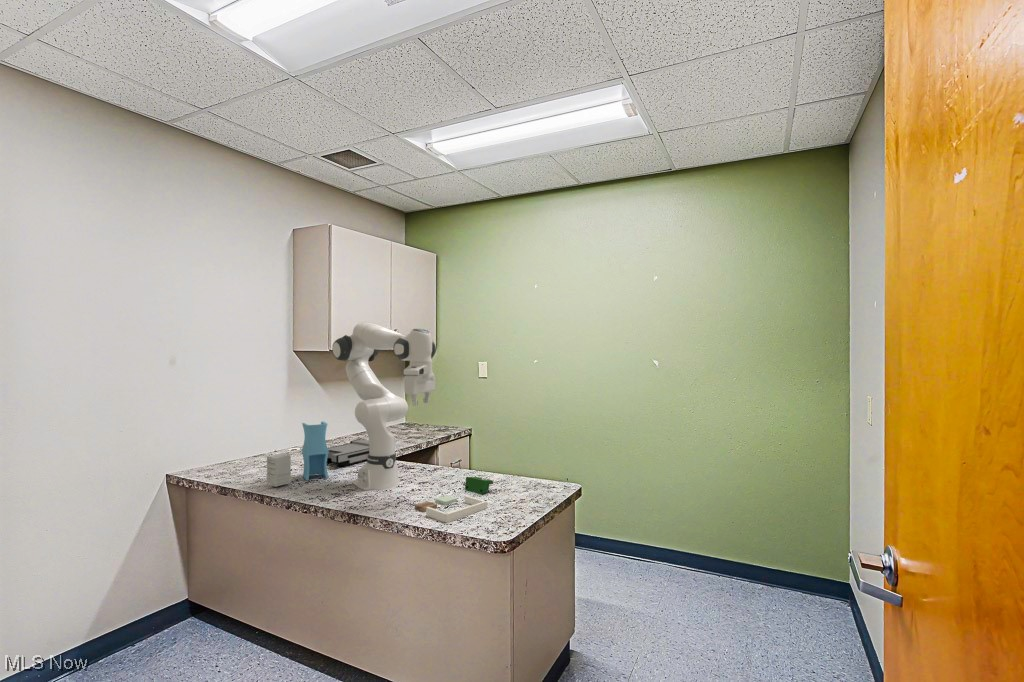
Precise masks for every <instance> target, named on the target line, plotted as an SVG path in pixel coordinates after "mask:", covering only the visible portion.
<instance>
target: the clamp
mask: <svg viewBox="0 0 1024 682" xmlns="http://www.w3.org/2000/svg"><path fill="white" fill-rule="evenodd" d="M490 485H494V480H492V479H484V478H482V477H477V476H466V477H465V484H464V490H465V491H466V492H471V493H473V494H474V493H475V494H478V495H486V494H487V492H488V491H489V490H490Z"/></svg>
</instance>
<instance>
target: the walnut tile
mask: <svg viewBox="0 0 1024 682" xmlns="http://www.w3.org/2000/svg"><path fill="white" fill-rule="evenodd" d="M426 507H430V508H433V509H436V510H437V509H438V503H436V502H435V503H434V502H431V501H428V500H426V501H423V502H419V503H416V504H414V510H418V511H420V512H423V513H426Z"/></svg>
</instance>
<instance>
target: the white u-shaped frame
mask: <svg viewBox="0 0 1024 682" xmlns="http://www.w3.org/2000/svg"><path fill="white" fill-rule="evenodd" d="M464 503H465V504H469V506H465V507H462V508H459V509H456V510H453V511H449V512H446V511H441V510H439V509H437V508H436V509H433V508H430V507H426V512H425V516H427V517H428V518H432V519H434V520H437V521H440V522H443V523H446V524H448V523H451V522H453V521H454V522H455V520H459V519H461V518H465V517H467V516H469V515H470V516H471V515H472V514H475V513H477V512H480V511H484V510H485V509H488V501H487V500H484V499H479V498H477V497H474V496H470V495H464Z"/></svg>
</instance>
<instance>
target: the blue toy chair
mask: <svg viewBox="0 0 1024 682" xmlns="http://www.w3.org/2000/svg"><path fill="white" fill-rule="evenodd" d="M301 425H302V427H303V433H304V434H303V435H304V441H303V446H302V449H301V453H302V457H303V473H302V477H303V478H304V479H305V481H309V478H310V476H314V475H315V476H316V475H323V476H324V478H325V479H326V478H329V474H328V469H327V468H328V467H327V465H328V464H327V458H328V454H329V451H328V448H329V447H328V444H327V441H326V433H327V427H328V423H327V422H325V421H320V424H319V423H317V424H307V423H305V422H302V423H301Z"/></svg>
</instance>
